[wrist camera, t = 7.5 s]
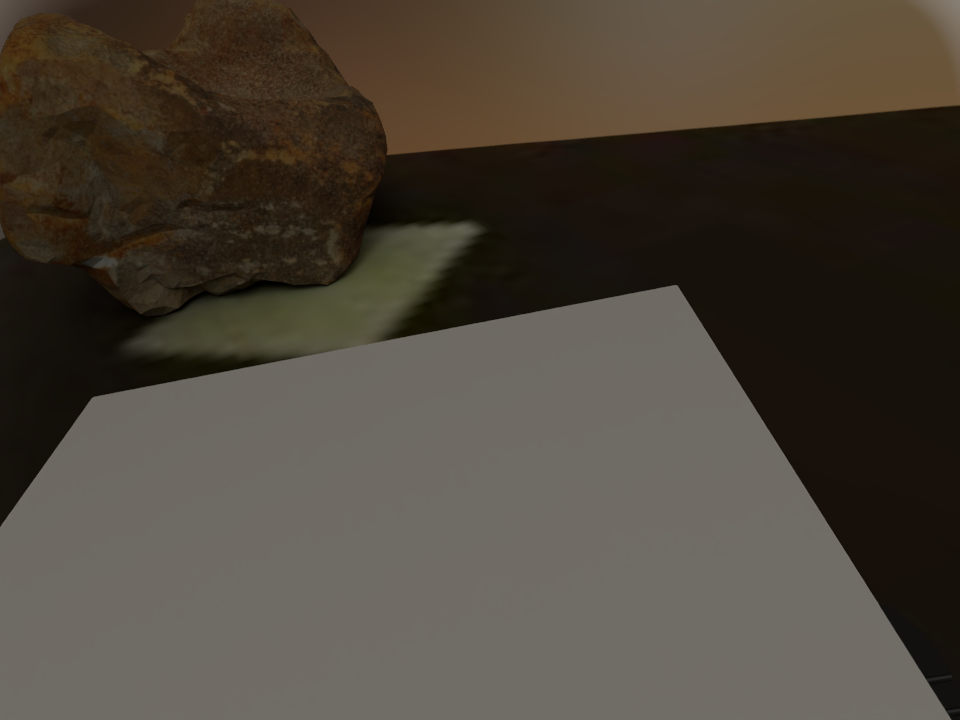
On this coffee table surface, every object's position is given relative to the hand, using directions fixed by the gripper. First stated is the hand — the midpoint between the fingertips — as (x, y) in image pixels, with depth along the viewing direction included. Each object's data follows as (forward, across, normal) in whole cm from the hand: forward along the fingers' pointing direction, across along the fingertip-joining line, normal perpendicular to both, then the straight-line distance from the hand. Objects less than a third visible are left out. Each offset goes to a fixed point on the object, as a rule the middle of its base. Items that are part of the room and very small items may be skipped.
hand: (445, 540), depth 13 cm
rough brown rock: (+33, -11, -7) cm, 36 cm away
